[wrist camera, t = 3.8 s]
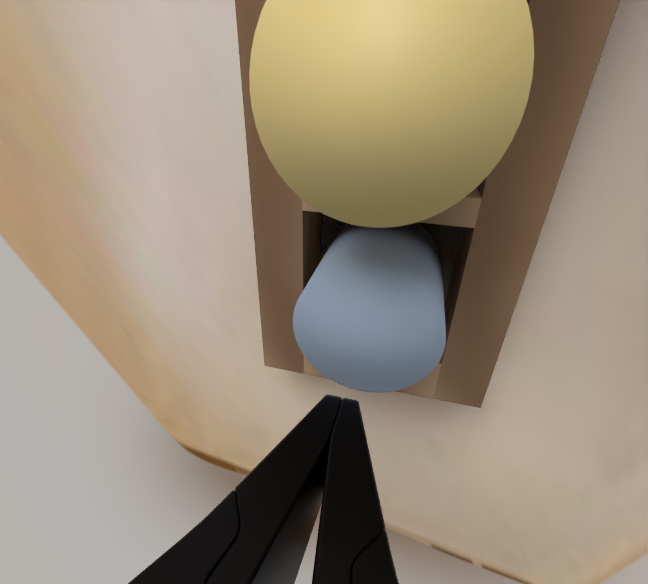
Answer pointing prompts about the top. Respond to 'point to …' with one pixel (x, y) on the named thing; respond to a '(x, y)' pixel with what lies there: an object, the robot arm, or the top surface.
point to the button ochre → (389, 100)
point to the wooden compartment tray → (470, 213)
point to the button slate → (374, 309)
